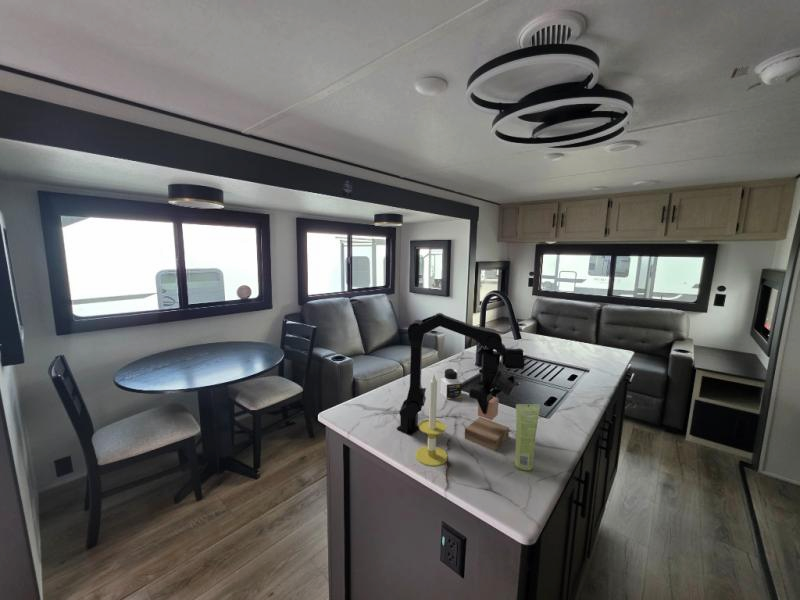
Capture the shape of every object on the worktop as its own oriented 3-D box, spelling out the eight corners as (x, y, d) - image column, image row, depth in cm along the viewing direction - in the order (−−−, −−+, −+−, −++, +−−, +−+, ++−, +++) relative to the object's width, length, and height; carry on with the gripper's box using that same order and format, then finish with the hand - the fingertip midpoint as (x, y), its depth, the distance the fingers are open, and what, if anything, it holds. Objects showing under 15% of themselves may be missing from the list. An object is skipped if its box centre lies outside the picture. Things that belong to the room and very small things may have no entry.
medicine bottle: (446, 399, 139) (447, 373, 138) (440, 393, 146) (441, 368, 145) (461, 398, 141) (462, 372, 140) (454, 391, 148) (455, 366, 147)
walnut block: (494, 452, 102) (495, 440, 102) (464, 439, 109) (465, 428, 109) (508, 438, 111) (509, 427, 110) (479, 427, 118) (479, 416, 117)
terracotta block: (491, 420, 105) (492, 403, 105) (477, 415, 108) (478, 398, 108) (497, 414, 109) (498, 398, 108) (484, 410, 112) (484, 394, 112)
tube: (519, 457, 99) (523, 398, 97) (535, 465, 96) (540, 403, 93) (511, 466, 95) (515, 404, 92) (528, 474, 92) (533, 410, 89)
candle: (430, 443, 106) (432, 365, 103) (454, 457, 99) (457, 374, 95) (408, 454, 100) (410, 372, 96) (432, 470, 92) (435, 382, 89)
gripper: (503, 381, 94) (500, 430, 96) (523, 365, 109) (520, 408, 111) (469, 372, 101) (466, 418, 103) (492, 358, 116) (490, 399, 118)
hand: (487, 410), depth 109 cm, fingers closed on terracotta block, 5 cm apart
